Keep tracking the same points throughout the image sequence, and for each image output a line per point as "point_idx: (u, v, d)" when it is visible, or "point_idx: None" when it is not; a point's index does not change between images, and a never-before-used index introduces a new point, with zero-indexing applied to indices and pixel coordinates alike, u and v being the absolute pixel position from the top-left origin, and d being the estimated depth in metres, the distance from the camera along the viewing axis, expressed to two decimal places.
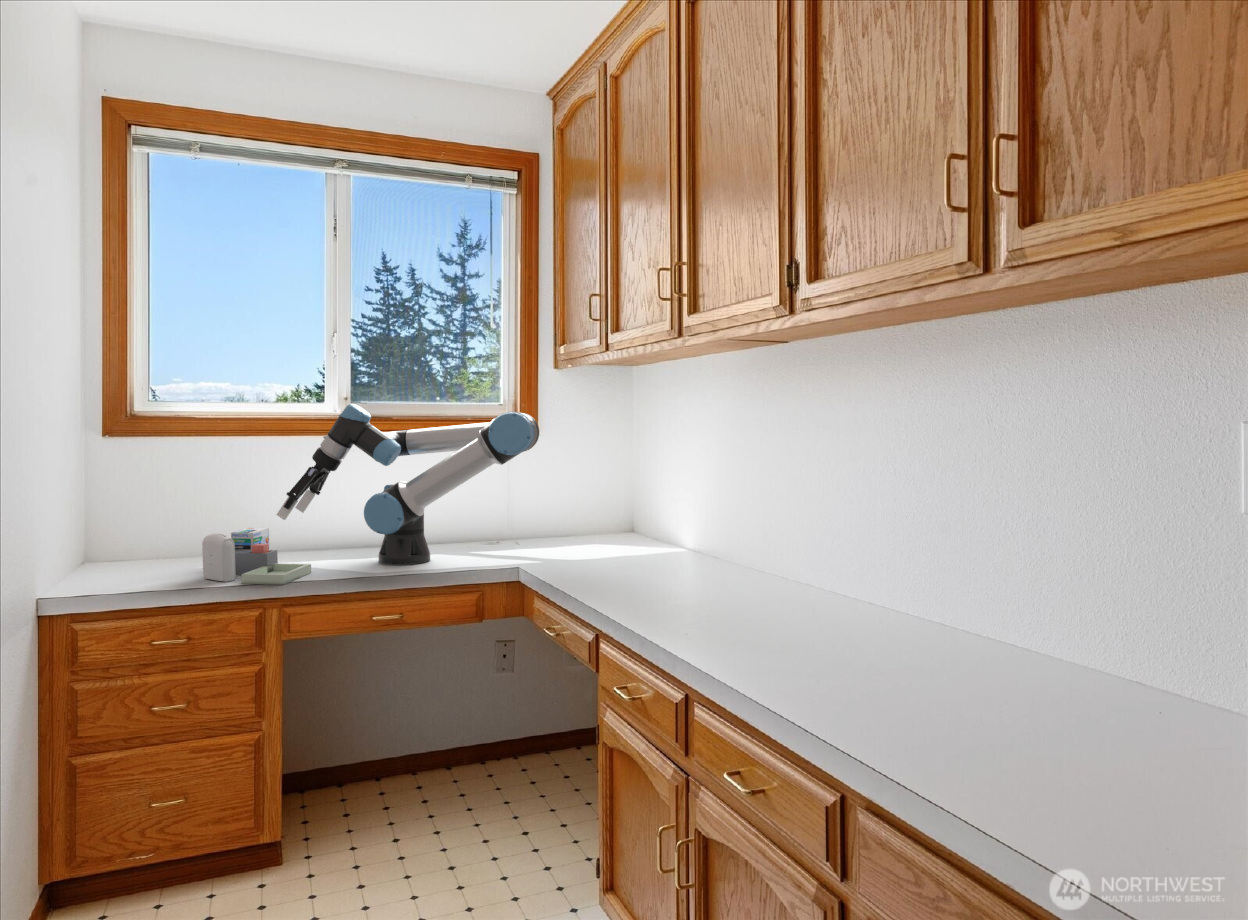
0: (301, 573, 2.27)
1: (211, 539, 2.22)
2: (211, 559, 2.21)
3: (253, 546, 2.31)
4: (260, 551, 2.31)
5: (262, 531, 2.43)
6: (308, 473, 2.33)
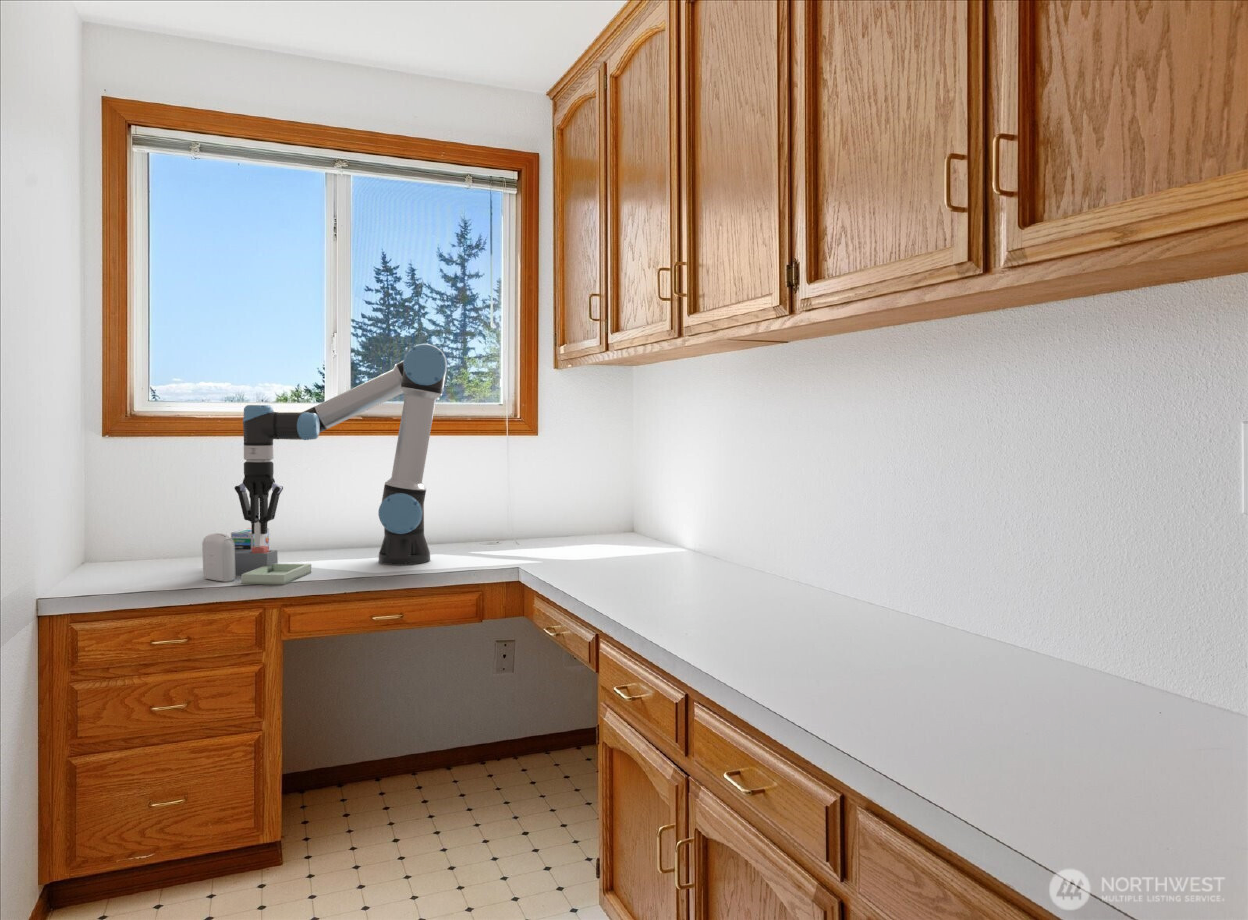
0: (301, 573, 2.27)
1: (211, 539, 2.22)
2: (211, 559, 2.21)
3: (253, 548, 2.31)
4: None
5: None
6: (277, 493, 2.31)
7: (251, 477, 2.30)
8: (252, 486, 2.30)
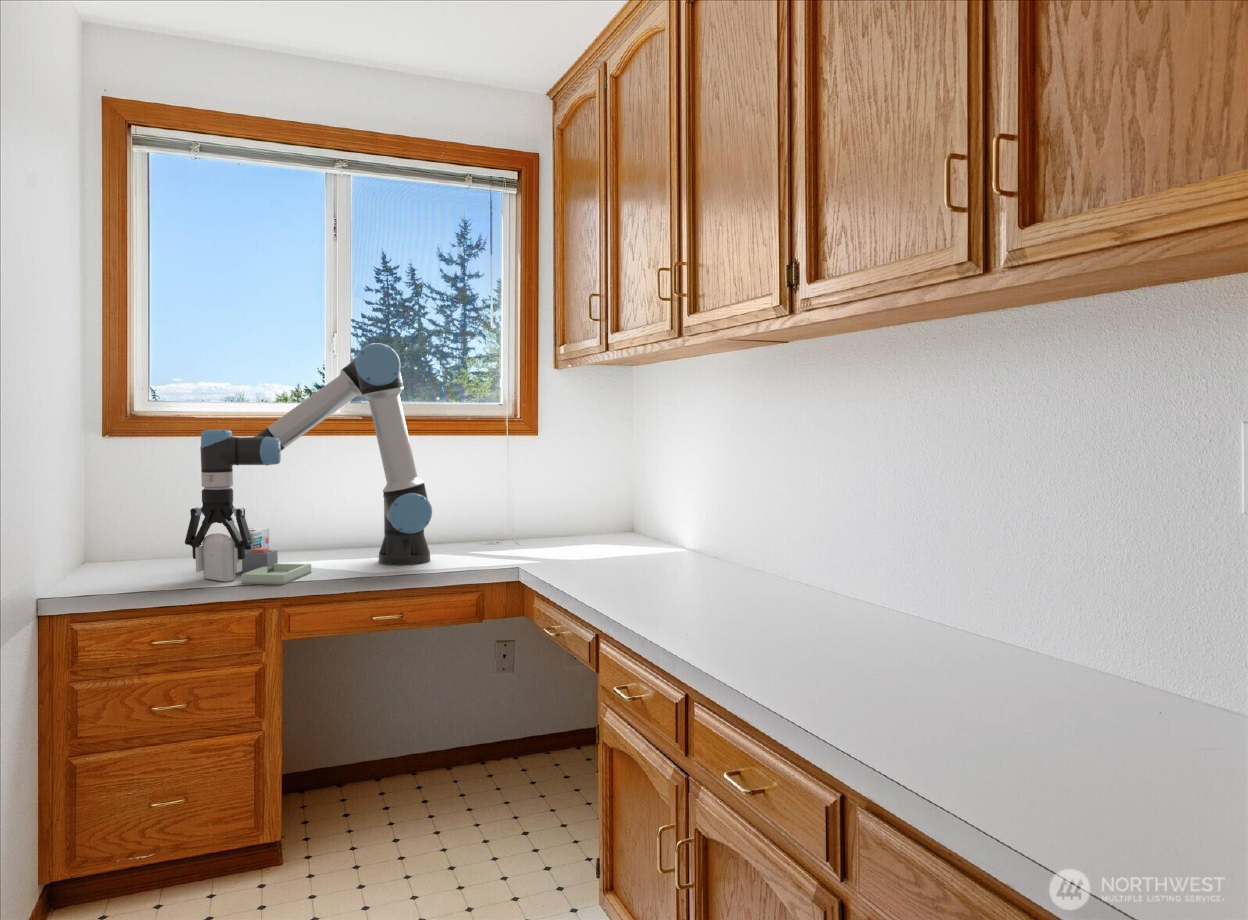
0: (301, 573, 2.27)
1: (211, 539, 2.22)
2: (211, 559, 2.21)
3: (253, 550, 2.31)
4: None
5: (262, 531, 2.43)
6: (241, 515, 2.22)
7: (211, 508, 2.22)
8: (209, 515, 2.21)
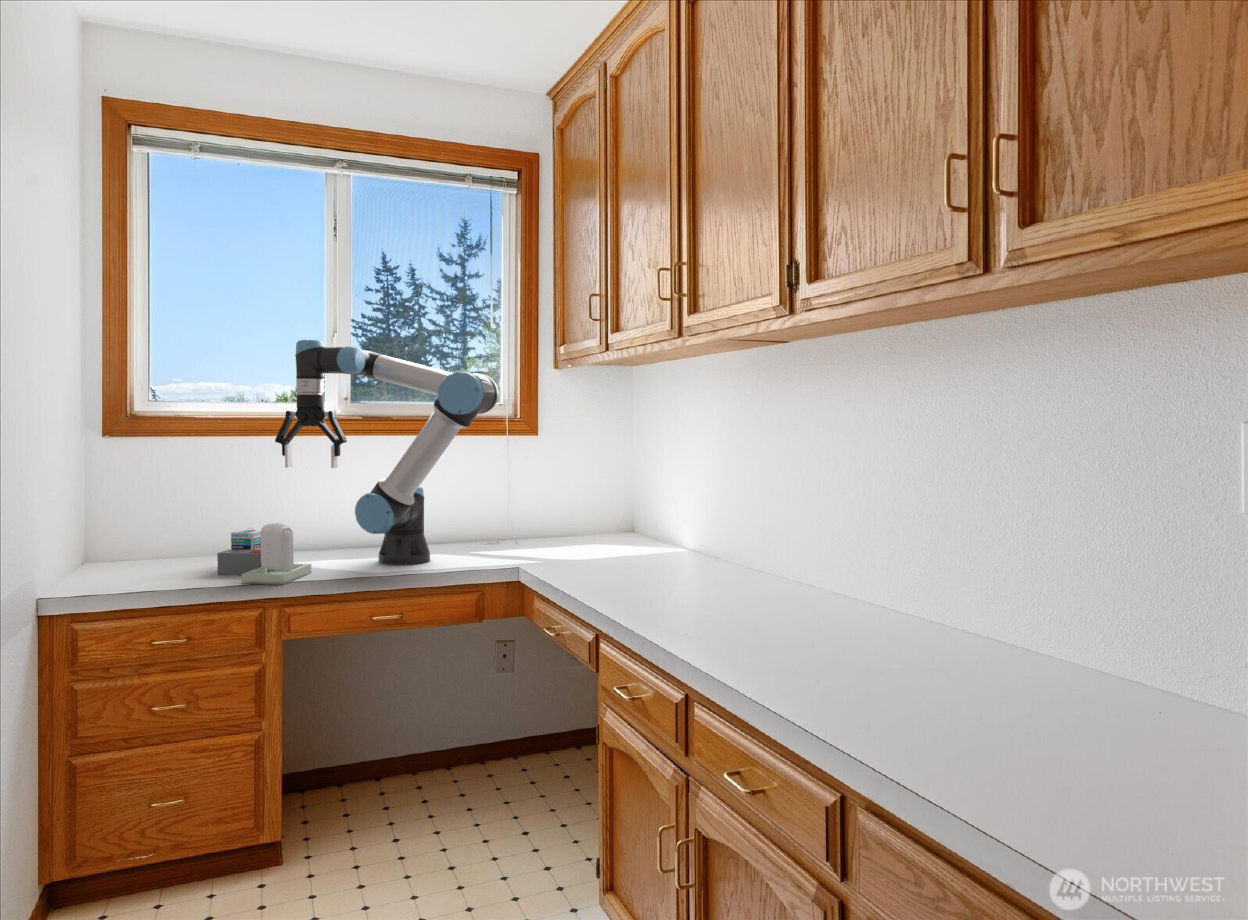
0: (301, 573, 2.27)
1: (269, 528, 2.24)
2: (270, 549, 2.23)
3: (253, 550, 2.31)
4: None
5: None
6: (333, 416, 2.42)
7: (305, 414, 2.41)
8: (303, 418, 2.41)
